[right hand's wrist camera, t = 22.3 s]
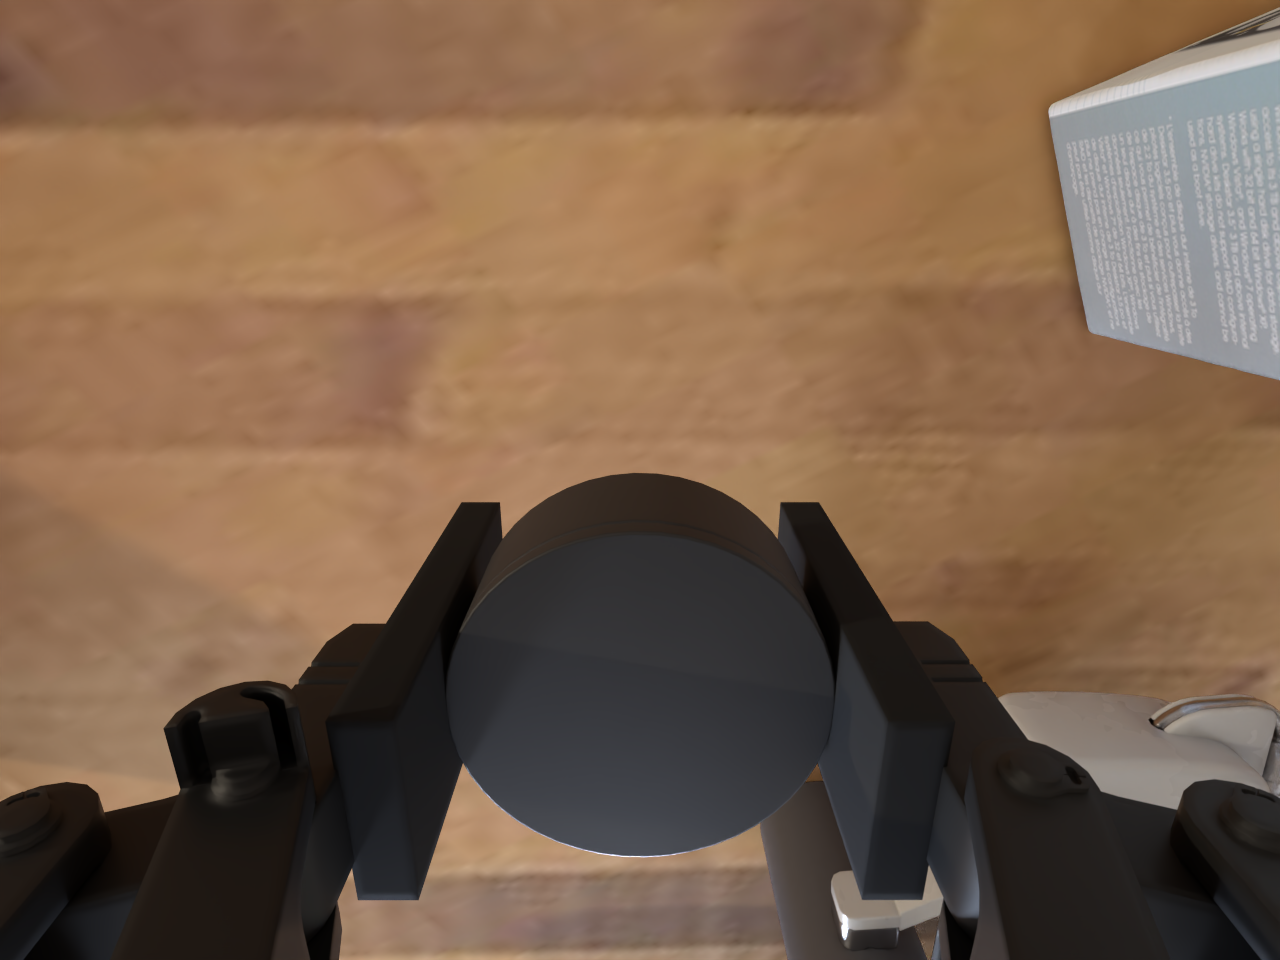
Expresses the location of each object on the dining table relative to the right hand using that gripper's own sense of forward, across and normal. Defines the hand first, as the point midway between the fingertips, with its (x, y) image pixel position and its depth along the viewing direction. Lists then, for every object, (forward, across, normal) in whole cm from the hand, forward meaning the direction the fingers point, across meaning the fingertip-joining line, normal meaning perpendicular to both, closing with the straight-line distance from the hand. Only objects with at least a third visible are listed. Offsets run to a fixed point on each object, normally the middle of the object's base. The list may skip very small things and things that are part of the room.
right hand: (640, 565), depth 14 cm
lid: (-4, 0, 0) cm, 4 cm away
